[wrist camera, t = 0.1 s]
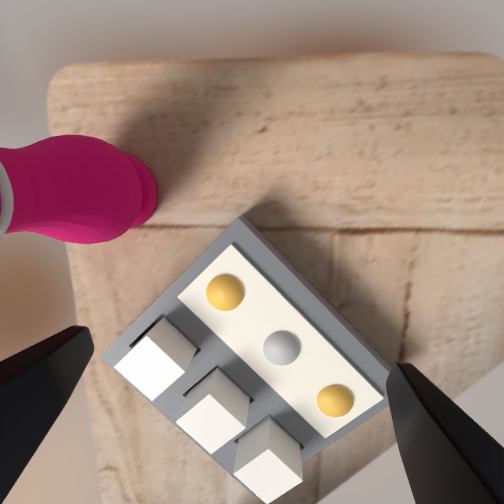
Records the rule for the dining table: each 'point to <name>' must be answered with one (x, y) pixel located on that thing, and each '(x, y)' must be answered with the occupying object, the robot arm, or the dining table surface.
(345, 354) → the button panel
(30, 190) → the pepper mill
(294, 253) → the dining table surface
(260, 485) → the button
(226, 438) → the middle button
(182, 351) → the button
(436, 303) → the dining table surface
